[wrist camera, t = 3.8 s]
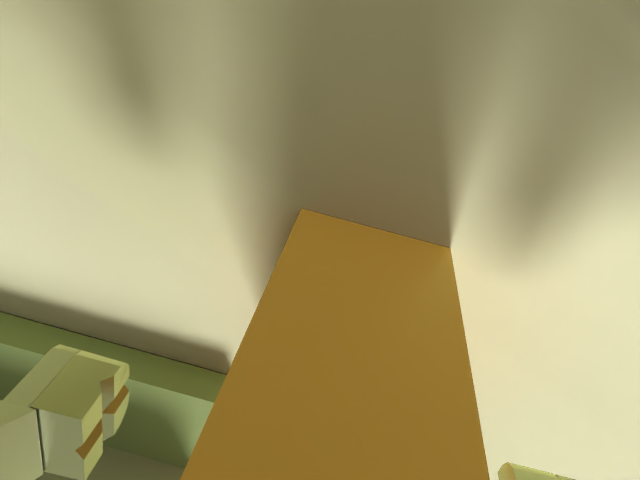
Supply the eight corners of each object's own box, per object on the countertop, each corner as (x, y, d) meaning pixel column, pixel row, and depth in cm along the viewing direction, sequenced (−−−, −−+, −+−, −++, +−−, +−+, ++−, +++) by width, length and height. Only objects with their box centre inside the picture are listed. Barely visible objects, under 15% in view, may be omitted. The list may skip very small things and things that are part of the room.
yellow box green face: (450, 248, 13) (524, 681, 5) (394, 383, 15) (383, 820, 7) (301, 208, 13) (139, 570, 5) (269, 349, 15) (127, 742, 7)
